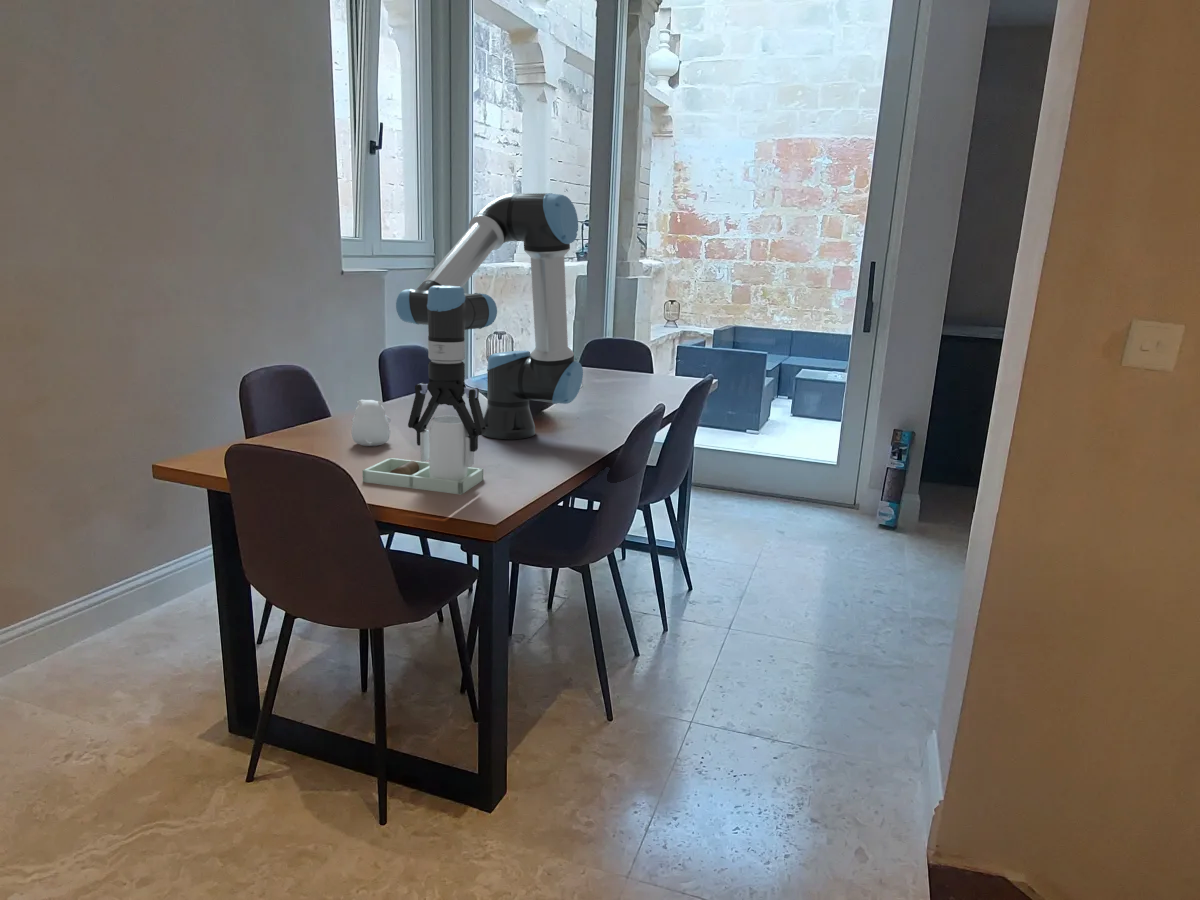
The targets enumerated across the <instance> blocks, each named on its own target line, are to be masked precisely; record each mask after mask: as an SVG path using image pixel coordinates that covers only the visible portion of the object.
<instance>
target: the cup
mask: <svg viewBox="0 0 1200 900" xmlns="http://www.w3.org/2000/svg"><path fill="white" fill-rule="evenodd" d="M429 428H430V429H429V459H428V462H429V468H430V478H436V479H444V480H452V481H461V480H462V479H464V478H466V477H467V471H468V467H466V437H467V436H469V434H468V432H467V430H466V429H465V427H464V425H463V423H462V421H461V419H460V417H459V416H457V415H440V416H434V417H432V418H431V419H430V427H429Z"/></svg>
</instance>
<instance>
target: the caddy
mask: <svg viewBox="0 0 1200 900" xmlns="http://www.w3.org/2000/svg"><path fill="white" fill-rule="evenodd" d="M410 461H415V462H417V463H418V465H419V471H418V472H417V473H415V474H413V475H404V474H396V473H390V471H392V470H394V469H396V468H398V467H400V466H402V465H404V464H406V463H408V462H410ZM482 481H484V468H481V467H472V466H470V467H468V471H467V477H466V478H464V479H462V480H461V481H452V480H444V479H436V478H430V468H429V461H425V462H421V460H413V459H411V460H410V459H406V458H405V459H403V458H397V457H388V458H386V459H384V460H382V461H380V462H378V463H376V464H373V465H371V466H369V467H367V468H365V469H363V470H362V483H368V484H376V485H377V484H378V485H385V486H392V487H399V488H408V489H413V490H414V489H416V490H421V491H422V490H423V491H431V492H437V493H438V492H439V493H446V494H447V493H448V494H454V495H463V494H465V493H466V492H468V491H469V490H470V489H472V488H473V487H475V486H477V485H478V484H480V482H482Z"/></svg>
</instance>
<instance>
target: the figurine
mask: <svg viewBox="0 0 1200 900" xmlns="http://www.w3.org/2000/svg"><path fill="white" fill-rule="evenodd" d="M356 403H357V404H358V405H357V406H356V408H355V411H354V416H353V417H352V419H351V421H352V424H351V439H352V441H353V442H354V443H356V444H357V445H361V446H364V447H376V446H378V447H379V446H381V445H384V444H386V443H388V441H389V440H390V437H391V430H390V425H389V423H391V421H392V419H391V417H389V416H388V415H386V410H385V408H384V406H383V405H382V404H383V400H381V399H380V400H379V401H378V400H374V399H360V400H357V402H356Z"/></svg>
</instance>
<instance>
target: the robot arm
mask: <svg viewBox="0 0 1200 900" xmlns="http://www.w3.org/2000/svg"><path fill="white" fill-rule="evenodd" d="M578 231H579V218H578V213H577V210H576V207H575V205H574V204H573V202H572V200H571V199H570V198H569V197H568V196H567V195H564V194H558V193H551V192H550V193H548V192H547V193H545V192H544V193H542V192H541V193H538V192H537V193H530V192H528V193H520V192H511V193H507V194H504V195H501V196H500V197H498V198H496V199H494V200H492V201H490V202H488V203H487V204H486V205H485V206H484V207H482V208H481V209H479V211H477V212H476V214H475V215H474V216H473V217H472V218H471V219H470V220H469V223H468V229H467V230H466V231H465V233H463V235H462V236H461V237H460V238H459V240H458V241H457V242H456V243H455V244H454V246H453V247H452V248H451V249H450V250H449V251H448V252H447V254H446V255H445V256H444V257H443V258H442V259H441V261H439V263H438V264H437V265H436V267H434V268H433V270H431V272H430V273H429V274H428V276H427V277H426V278H425V279H424V280H423V281H422V283H421V284H419V286H418V287H417V288H416V289H414V288H410V289H403V290H401V291H400V292H399V293H398V295H397V298H396V300H395V309H396V310H395V311H396V312H397V316H398V317H399V319H400V320H402V321H403V322H404V323H410V324H414V325H423V326H424V325H425V326H427V329H428V331H427V332H428V338H427V339H428V343H427V347H428V349H427V350H428V351H427V353H428V354H427V355H428V359H429V360H430V361H429V362H428V364H427V365H428V366H427V367H428V380H429V381H428V383H424V382H421V383H417V384H415V385H414V394H415V395H414V400H413V404H412V407H411V412H410V414H409V415H410V416H409V419H408V424H407V427H408V428H410V429H414V430H415V431H416V445H417V446H419V447H420V461H421V462H427V461H429V440H430V429H428V427H427V426H428V425H429V423H430V422H431V420H432V418H433V415H434V413H435V411H436V410H437V409H438V407H439V406H440V405H446V406H449V407H450V406H451V407H452V408H453V409H454V410H456V413H457V414H458V417H460V419H461V421H462V423H463V425H464V427H465V429H466V430H467V432H468V434H469V436H467V437H466V467H472V466H473V465H475V452H476V451H477V450H478V448H479V446H478V445H479V436H484V437H486V438H490V439H497V440H522V439H527V438H532V437H533V436H534V435H536V426H535V425H536V424H535V422H534V419H533V415H532V411H531V409H530V401H537V402H545V403H552V404H555V405H558V404H563V405H567V404H571V403H572V402H573V401H574V400H575V399H576V397H577V396H578V394H579V392H580V391H581V387H582V383H583V377H584V369H583V366H582V364H581V362H579V361H577V360H575V355H574V354H575V352H574V351H573V350H572V349H571V348H570V347H569V344H568V341H569V340H568V319H567V318H568V317H567V292H566V289H567V287H566V267H565V266H566V264H565V256H566V254H567V253H568V252H569V251H570V250H571V244H572V243H574V242H575V241H576V239H577V236H578ZM513 241H514V242H523V249H524V250H523V251H524V253H526V254H527V255H528V256H529V257H530V270H531V271H530V272H531V288H532V306H533V322H534V323H533V324H534V326H533V327H534V341H535V342H534V343H535V348H534V349H533V350H532V352H530V350H513V351H512V350H511V351H510V350H509V351H502V352H495V353H492V354H490V355H489V356H488V359H487V368H486V372H487V373H486V375H487V380H486V381H487V382H486V383H487V384H486V385H487V395H486V396H487V403H486V404H487V405H486V410H485V412H484V415H483V412H482V407H481V403H480V400H479V396H480V395H479V394H480V389H479V387H474V388H470V387H467V386H466V382H465V378H466V377H465V376H466V373H465V372H466V370H465V369H466V368H465V367H466V366H465V365H466V364H465V363H464V360H465V358H466V354H465V353H466V352H465V351H466V349H465V335H466V334H465V331H466V330H467V331H468V330H476V329H479V330H481V329H483V328H484V329H485V328H486V327H489V326H491V325H492V324H494V322H495V321H496V318H497V315H498V307H497V303H496V302H495V300H494V298H492V297H491V296H490V295H488V294H486V293H481V292H479V293H478V292H474V293H465V289H464V288H463V287H464V286H465V285H466V284H467V282H468V281H469V280H470V279H471V277H472V276H473V275H474V273H475V272H476V271H477V270H478V269H479V268H480V266H481V265H482V264H483V263H484V261H485V260H486V259H487V257H488V256H489V255H490V254H491V253H492V251H496V250H498V249H500V248H501V247H502V246H503V244H506V243H507V242H513ZM428 392H429V394H430V395H431V397H430V399H429V401H428V405H427V406H426V408H425V410H424V411H423V408H424V402H425V399H426V394H427V393H428ZM464 395H466V399H468V404H469V408H470V412H471V414H470V412H469V409H468V408H467V406H466V402H465V400H464V398H463V396H464ZM422 411H423V413H422ZM421 415H422V416H421ZM471 415H472V416H471Z"/></svg>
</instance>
